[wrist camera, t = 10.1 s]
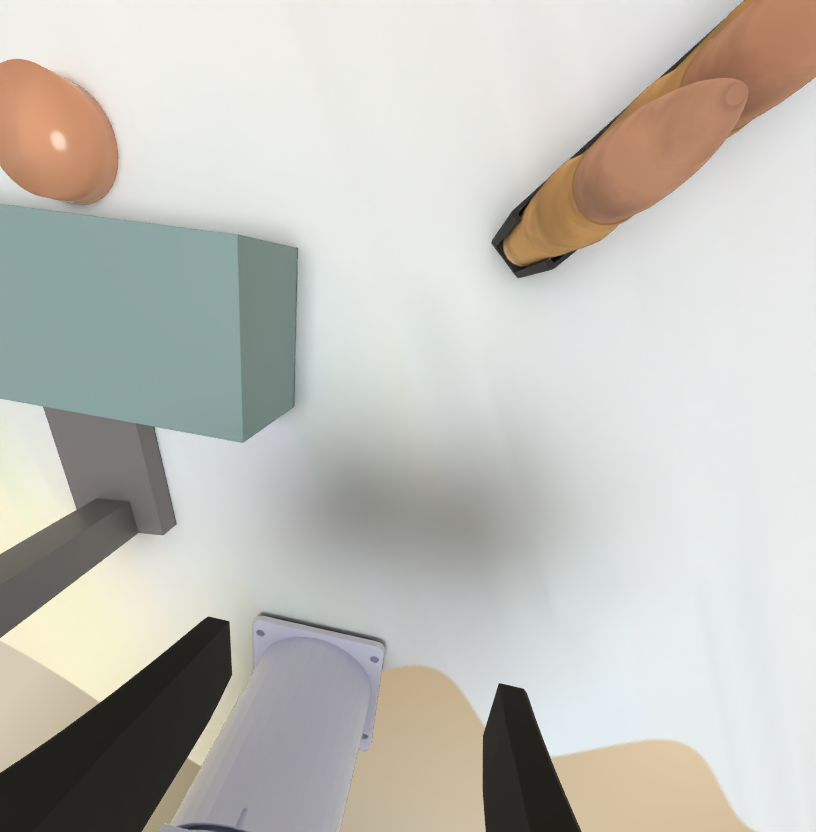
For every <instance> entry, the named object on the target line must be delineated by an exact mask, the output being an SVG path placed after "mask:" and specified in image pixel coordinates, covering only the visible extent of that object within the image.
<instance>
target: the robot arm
mask: <svg viewBox="0 0 816 832" xmlns="http://www.w3.org/2000/svg"><path fill="white" fill-rule="evenodd" d="M253 652H254V671H253V673H252V675H251V677H250V679H249V681H248V682H247V684H246V686H245V688H244V690H243V692H242V693H241V695H240V697H239V699H238V701H237V703H236V704H235V706H234V708H233V710H232V712H231V713H230V715H229V717H228V719H227V721H226V723H225V724H224V726H223V728H222V730H221V732H220V734H219V735H218V737H217V739H216V741H215V743H214V745H213V746H212V748H211V750H210V752H209V754H208V755H207V757H206V759H205V761H204V763H203V765H202V766H201V768H200V770H199V772H198V774H197V776H196V778H195V779H194V781H193V783H192V785H191V787H190V788H189V790H188V792H187V794H186V796H185V797H184V799H183V801H182V803H181V805H180V807H179V809H178V810H177V812H176V814H175V816H174V818H173V820H172V821H171V823H170V824H167V823H165V824H163V825H162V827H161V829H160V831H159V832H340V829H341V824H342V820H343V815H344V811H345V807H346V802H347V798H348V793H349V789H350V785H351V781H352V776H353V771H354V768H355V763H356V759H357V754H358V750H363V751H367V750H369V749H370V746H371V742H372V735H373V728H374V721H375V714H376V707H377V699H378V693H379V686H380V679H381V672H382V665H383V659H384V652H385V647H384V646H383V644H381V643H380V642H377V641H373V640H369V639H364V638H360V637H355V636H351V635H346V634H342V633H337V632H333V631H329V630H324V629H320V628H315V627H311V626H306V625H302V624H298V623H293V622H289V621H284V620H280V619H275V618H271V617H267V616H258V617H257V618H256V619H255V621H254V622H253ZM231 676H232V665H231V645H230V625H229V621H225V620H221V619H217V618H212V617H207V618H205V619H204V620H203V621H201V622H200V623H199V624H198V625H197V626H195V627H194V628H193V629H192V630H190V631H189V632H188V633H187V634H186V635H184V636H183V637H182V638H181V639H180V640H178V641H177V642H176V643H175V644H174V645H172V646H171V647H170V648H169V649H167V650H166V651H165V652H164V653H163V654H161V655H160V656H159V657H158V658H156V659H155V660H154V661H153V662H151V663H150V664H149V665H148V666H146V667H145V668H144V669H143V670H141V671H140V672H139V673H138V674H136V675H135V676H134V677H133V678H131V679H130V680H129V681H127V682H126V683H125V684H124V685H122V686H121V687H120V688H119V689H117V690H116V691H115V692H113V693H112V694H111V695H109V696H108V697H107V698H106V699H104V700H103V701H102V702H100V703H99V704H98V705H96V706H95V707H93V708H92V709H91V710H89V711H88V712H87V713H85V714H84V715H83V716H81V717H80V718H79V719H77V720H76V721H74V722H73V723H72V724H70V725H69V726H68V727H66V728H65V729H64V730H62V731H61V732H59V733H58V734H57V735H55V736H54V737H52V738H51V739H50V740H48V741H47V742H45V743H44V744H42V745H41V746H39V747H38V748H37V749H35V750H34V751H32V752H31V753H29V754H28V755H26V756H25V757H23V758H22V759H21V760H19V761H17V762H16V763H14V764H13V765H11V766H10V767H9V768H7V769H6V770H4V771H2V772H1V773H0V832H142V830H143V828H144V827H145V825H146V824H147V822H148V820H149V819H150V817H151V815H152V814H153V812H154V811H155V809H156V807H157V806H158V804H159V802H160V801H161V799H162V798H163V796H164V794H165V793H166V791H167V789H168V788H169V786H170V784H171V783H172V781H173V779H174V778H175V776H176V775H177V773H178V771H179V770H180V768H181V767H182V765H183V763H184V762H185V760H186V759H187V757H188V755H189V754H190V752H191V750H192V749H193V747H194V745H195V744H196V742H197V740H198V739H199V737H200V735H201V734H202V732H203V731H204V729H205V727H206V725H207V724H208V722H209V720H210V719H211V717H212V715H213V713H214V711H215V709H216V707H217V705H218V703H219V701H220V699H221V697H222V695H223V693H224V690H225V688H226V686H227V684H228V682H229V680H230V678H231ZM483 800H484V812H485V813H484V814H485V826H486V832H581V830H580V827H579V825H578V823H577V820H576V818H575V816H574V813H573V811H572V809H571V807H570V804H569V802H568V799H567V797H566V795H565V792H564V790H563V788H562V785H561V783H560V781H559V778H558V776H557V773H556V771H555V769H554V766H553V763H552V761H551V758H550V756H549V753H548V751H547V748H546V745H545V743H544V740H543V738H542V735H541V732H540V730H539V727H538V724H537V721H536V719H535V716H534V713H533V710H532V707H531V704H530V701H529V698H528V695H527V693H526V691H525V690H524V689H522V688H518V687H513V686H509V685H505V684H500V683H499V685H498V688H497V691H496V695H495V698H494V701H493V705H492V708H491V711H490V715H489V718H488V721H487V724H486V728H485V731H484V735H483Z"/></svg>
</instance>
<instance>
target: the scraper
mask: <svg viewBox="0 0 816 832" xmlns="http://www.w3.org/2000/svg"><path fill="white" fill-rule="evenodd" d="M43 408H44V411H45V414H46V417H47V420H48V423H49V426H50V429H51V432H52V435H53V438H54V441H55V444H56V447H57V450H58V454H59V457H60V460H61V463H62V466H63V469H64V472H65V475H66V478H67V481H68V484H69V487H70V490H71V493H72V496H73V499H74V502H75V505H76V509H77V510H76V511H74V512H72V513H71V514H69V515H67V516H65V517H64V518H62V519H60V520H59V521H57V522H55V523H53V524H52V525H50V526H48V527H46V528H45V529H43V530H41V531H40V532H38V533H36V534H34V535H33V536H31V537H29V538H27V539H26V540H24V541H22V542H21V543H19V544H17V545H15V546H14V547H12V548H10V549H9V550H7V551H5V552H3V553H2V554H0V638H1V637H2V636H4V635H5V634H6V633H8V632H9V631H10V630H11V629H13V628H14V627H15V626H17V625H18V624H19V623H21V622H22V621H23V620H25V619H26V618H27V617H29V616H30V615H31V614H32V613H34V612H35V611H36V610H38V609H39V608H40V607H42V606H43V605H44V604H46V603H47V602H48V601H50V600H51V599H52V598H53V597H55V596H56V595H57V594H59V593H60V592H61V591H63V590H64V589H65V588H67V587H68V586H69V585H71V584H72V583H73V582H75V581H76V580H77V579H78V578H80V577H81V576H82V575H84V574H85V573H86V572H88V571H89V570H90V569H92V568H93V567H94V566H96V565H97V564H98V563H99V562H101V561H102V560H103V559H105V558H106V557H107V556H109V555H110V554H111V553H113V552H114V551H115V550H117V549H118V548H119V547H120V546H122V545H123V544H124V543H126V542H127V541H128V540H130V539H131V538H132V537H134V536H135V535H136V534H138V533H145V534H155V535H164V534H165V533H167V532H168V531H169V530H170V529H171V528H173V527H174V526H175V525H176V521H175V517H174V513H173V508H172V504H171V500H170V495H169V491H168V487H167V482H166V478H165V474H164V469H163V465H162V461H161V456H160V452H159V448H158V443H157V439H156V435H155V430H154V426H148V425H143V424H137V423H132V422H126V421H121V420H115V419H110V418H104V417H99V416H94V415H88V414H83V413H77V412H72V411H66V410H61V409H55V408H50V407H44V406H43Z"/></svg>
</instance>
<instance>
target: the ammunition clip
mask: <svg viewBox="0 0 816 832" xmlns="http://www.w3.org/2000/svg"><path fill="white" fill-rule="evenodd" d="M815 77H816V0H744V1H743V2H742V3H741V4H740V5H739V6H738V7H736V8H735V9H734V10H733V11H732V12H731V13H730V14H729V15H728V16H727V17H726V18H725V19H724V20H723V21H722V22H721V23H720V24H718V25H717V26H716V27H715V28H714V29H713V30H712V31H711V32H710V33H709V34H707V35H706V36H705V37H704V38H703V39H702V40H701V41H700V42H699V43H697V44H696V45H695V46H694V47H693V48H692V49H691V50H690V51H689V52H688V53H686V54H685V55H684V56H683V57H682V58H681V59H680V60H679V61H678V62H676V63H675V64H674V65H673V66H672V67H671V68H670V69H669V70H668V71H667V72H665V73H664V74H663V75H662V76H661V77H660V78H659V79H658V80H656V81H655V82H654V83H652V84H651V85H650V86H649V87H648V88H647V89H646V90H645V91H644V92H642V93H641V94H640V95H639V96H638V97H637V98H636V99H635V100H634V101H633V102H632V103H631V104H630V105H629V106H628V107H627V108H626V109H625V110H623V111H622V112H621V113H620V114H619V115H618V116H617V117H616V118H615V119H613V120H612V121H611V122H610V123H609V124H608V125H607V126H606V127H605V128H604V129H602V130H601V131H600V132H599V133H598V134H597V135H596V136H595V137H594V138H592V139H591V140H590V141H589V142H588V143H587V144H586V145H585V146H584V147H583V148H581V149H580V150H579V151H578V152H577V153H576V154H575V155H574V156H573V157H571V158H570V159H569V160H568V161H566V162H565V163H564V164H563V165H562V166H561V167H560V168H559V169H557V170H556V171H555V172H554V173H553V174H552V175H551V176H550V177H549V178H548V179H547V180H546V181H545V182H544V183H543V184H542V185H541V186H539V187H538V188H537V189H536V190H535V191H534V192H533V193H532V194H531V195H529V196H528V197H527V198H526V199H525V200H524V201H523V202H522V203H521V204H520V205H518V206H517V207H516V208H515V209H514V210H513V211H512V212H511V214H510V215H509V217H508V218H507V220H506V221H505V222H504V224H503V225H502V227H501V228H500V230H499V231H498V233H497V234H496V235H495V237H494V238H493V240H492V244H493V246H494V247H495V248H496V250H497V251H498V252H499V254H500V255H501V256H502V258H503V259H504V260H505V262H506V263H507V264H508V266H509V267H510V268H511V270H512V271H513V272H514V274H515V275H516V276H517V278H521V277H525V276H529V275H533V274H537V273H540V272H544V271H548V270H552V269H554V268H556V267H557V266H558V265H559V264H560V263H562V262H563V261H564V260H565V259H567V258H568V257H569V256H570V255H572V254H573V253H574V252H575V251H576V250H578V249H580V248H583V247H586V246H588V245H591V244H594V243H596V242H598V241H600V240H602V239H603V238H604V237H605V236H607V235H608V234H609V233H610V232H612V231H613V230H614V229H615V228H616V227H617V226H618V225H619V224H621V223H623V222H625V221H626V220H628V219H629V218H631V217H632V216H633V215H635V214H637V213H639V212H641V211H643V210H645V209H647V208H649V207H651V206H653V205H654V204H656V203H657V202H658V201H660V200H661V199H663V198H664V197H666V196H667V195H668V194H670V193H671V192H673V191H674V190H675V189H676V188H678V187H679V186H680V185H681V184H683V183H684V182H685V181H686V180H688V179H689V178H690V177H691V176H692V175H693V174H694V173H696V172H697V171H698V170H699V169H700V168H701V167H702V166H703V165H704V164H705V163H706V162H707V161H708V160H709V158H710V157H711V156H712V155H713V154H714V153H715V152H716V151H717V149H718V148H719V147H720V146H721V145H722V144H723V142H724V141H725V139H726V138H728V137H729V136H731V135H733V134H734V133H736V132H737V131H739V130H740V129H741V128H743V127H744V126H745V125H746V124H748V123H749V122H750V121H751V120H753V119H755V118H756V117H758V116H760V115H761V114H763V113H765V112H766V111H768V110H769V109H771V108H773V107H774V106H776V105H778V104H779V103H781V102H782V101H784V100H785V99H786V98H788V97H789V96H791V95H792V94H793V93H795V92H796V91H798V90H799V89H800V88H802V87H803V86H804V85H806V84H807V83H808V82H810V81H811V80H812V79H814V78H815Z"/></svg>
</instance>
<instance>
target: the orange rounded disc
mask: <svg viewBox="0 0 816 832" xmlns="http://www.w3.org/2000/svg"><path fill="white" fill-rule="evenodd" d="M0 166H1V167H2V169H3V170H4V171H5V172H6V174H7V175H8V176H9V177H10V178H11V179H12V180H13V181H14V182H16V183H17V184H18V185H19V186H21V187H22V188H23V189H25V190H27V191H29V192H30V193H33V194H35V195H38V196H42V197H47V198H51V199H56V200H61V201H66V202H70V203H75V204H90V203H94V202H96V201H98V200H100V199H101V198H103V197H104V196H105V195H106V194H107V193H108V192H109V190H110V189H111V187H112V185H113V183H114V181H115V178H116V174H117V168H118V149H117V143H116V139H115V135H114V132H113V129H112V126H111V124H110V122H109V120H108V118H107V116H106V114H105V112H104V111H103V109H102V108H101V106H100V105H99V104H98V102H97V101H96V100H95V99H94V98H93V97H92V96H91V95H90V94H89V93H88V92H87V91H86V90H84V89H83V88H82V87H80V86H78V85H77V84H75V83H73V82H71V81H69V80H67V79H65V78H63V77H61V76H59V75H57V74H55V73H54V72H52V71H50V70H48V69H46V68H44V67H42V66H40V65H38V64H36V63H33V62H31V61H28V60H23V59H12V60H7V61H5V62H2V63H0Z"/></svg>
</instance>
